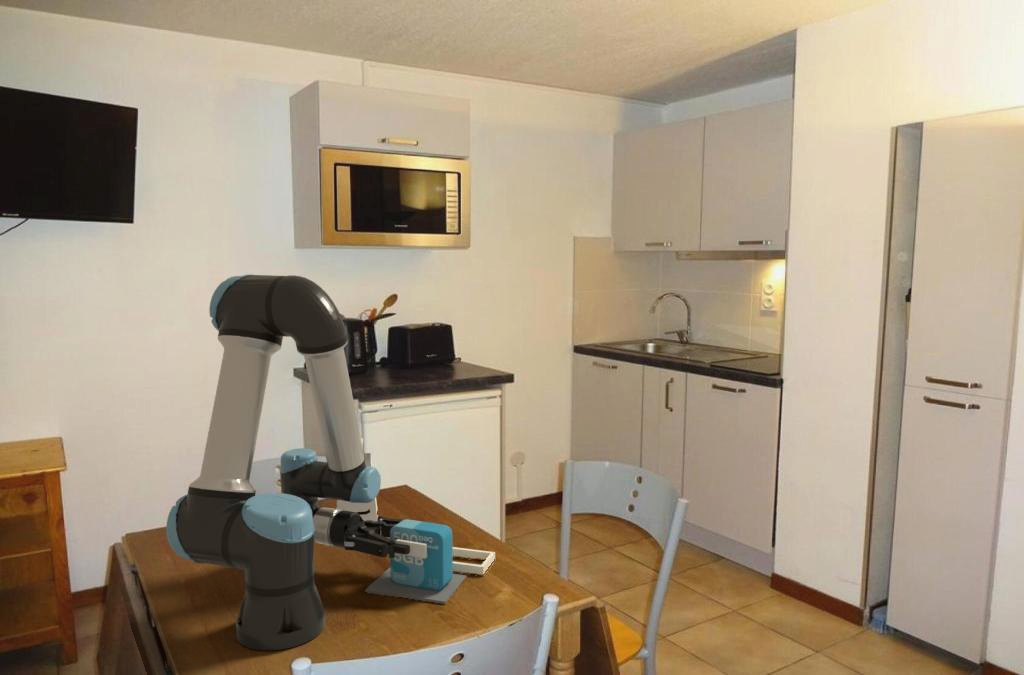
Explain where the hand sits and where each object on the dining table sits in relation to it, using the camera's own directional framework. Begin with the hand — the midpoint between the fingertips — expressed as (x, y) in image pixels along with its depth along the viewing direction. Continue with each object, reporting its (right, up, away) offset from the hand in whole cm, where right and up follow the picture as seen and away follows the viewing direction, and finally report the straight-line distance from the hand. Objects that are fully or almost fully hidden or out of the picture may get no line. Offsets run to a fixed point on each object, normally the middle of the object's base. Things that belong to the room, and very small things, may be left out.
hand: (435, 544), depth 142 cm
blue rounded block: (-3, -9, +2) cm, 9 cm away
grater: (-25, -5, +42) cm, 49 cm away
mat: (-4, -9, +2) cm, 10 cm away
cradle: (+3, -8, +13) cm, 15 cm away
